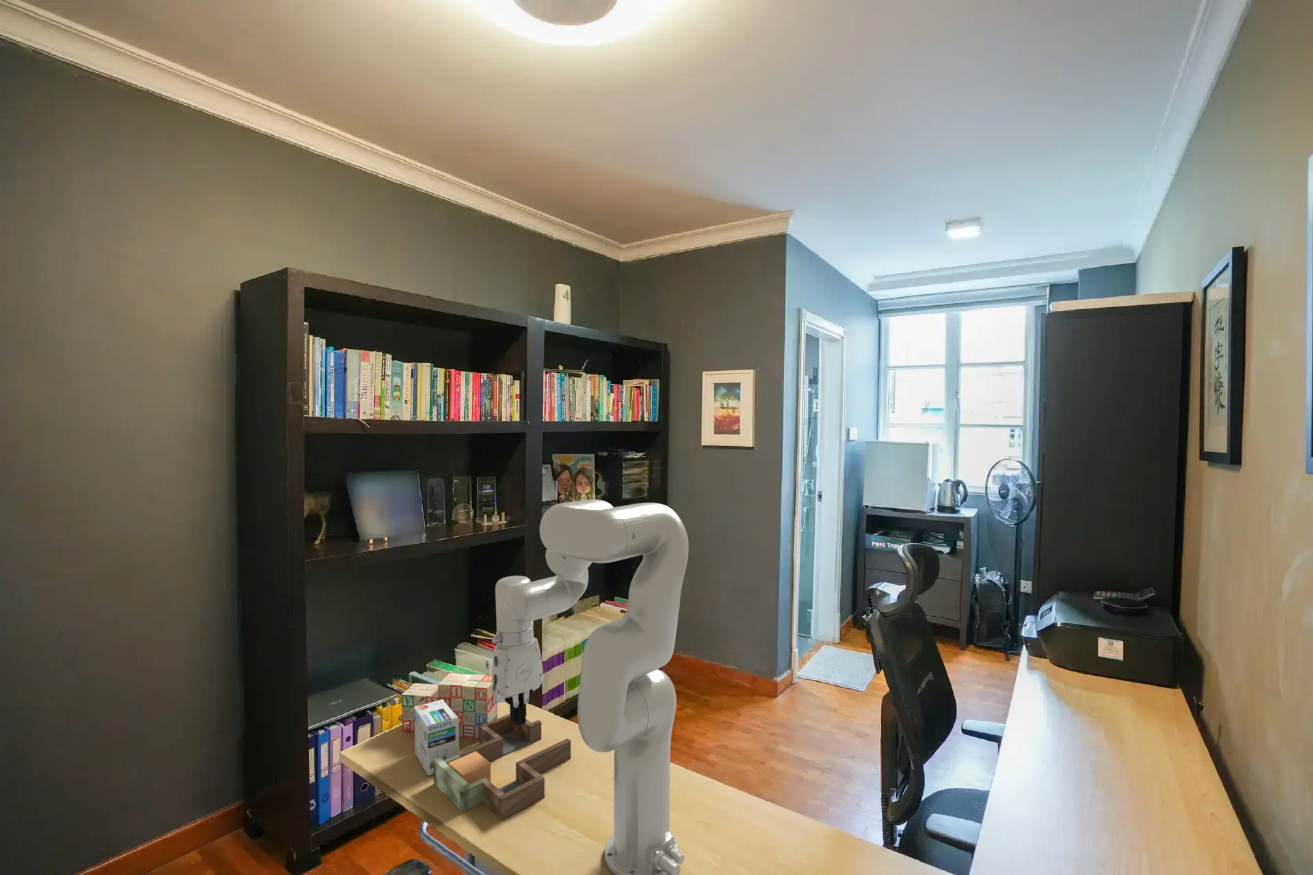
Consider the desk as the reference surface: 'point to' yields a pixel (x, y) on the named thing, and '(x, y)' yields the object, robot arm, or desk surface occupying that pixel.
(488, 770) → the block
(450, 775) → the box
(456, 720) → the light bulb box
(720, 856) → the desk surface
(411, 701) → the stack of blocks
